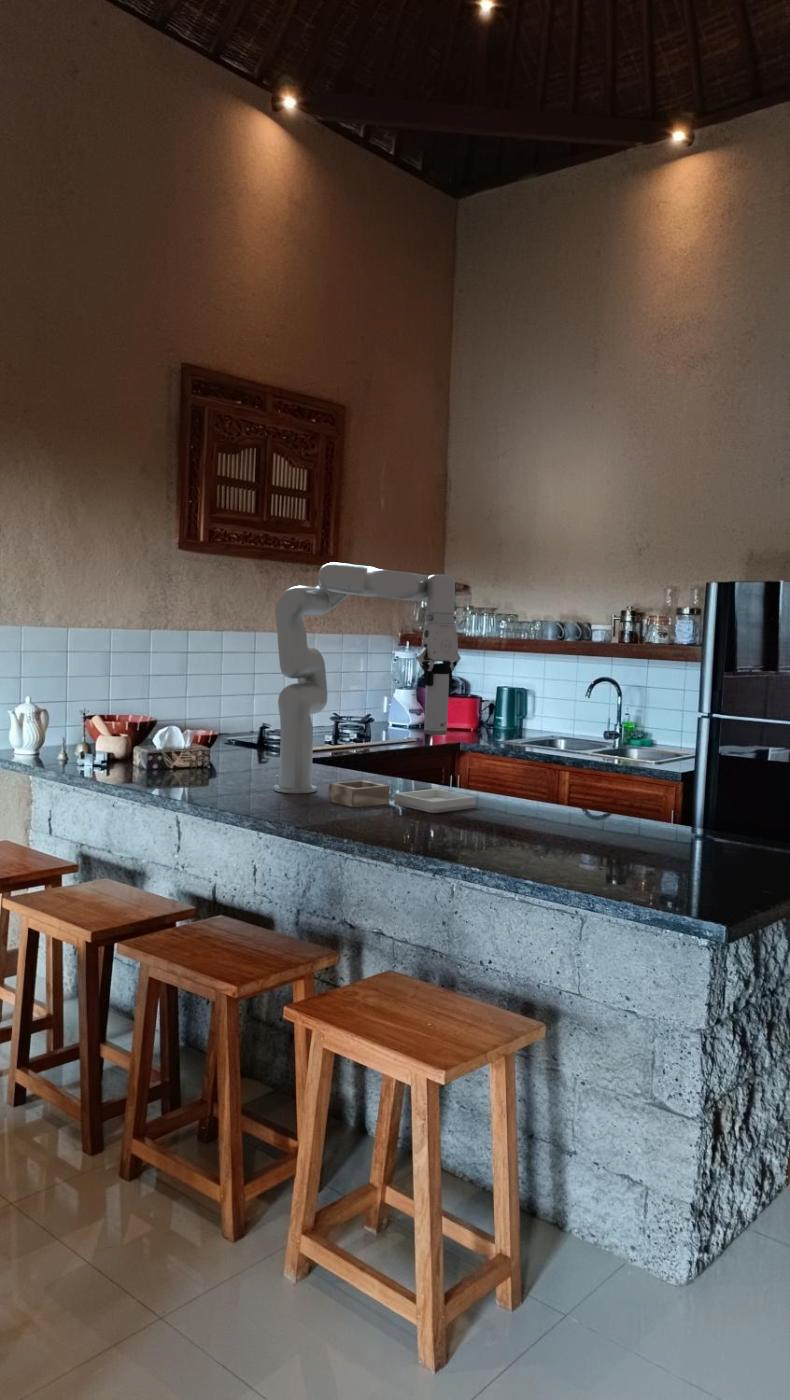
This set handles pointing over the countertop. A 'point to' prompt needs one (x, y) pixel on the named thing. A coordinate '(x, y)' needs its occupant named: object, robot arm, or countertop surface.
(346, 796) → the wooden open box
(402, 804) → the tray
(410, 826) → the countertop surface
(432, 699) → the travel mug
